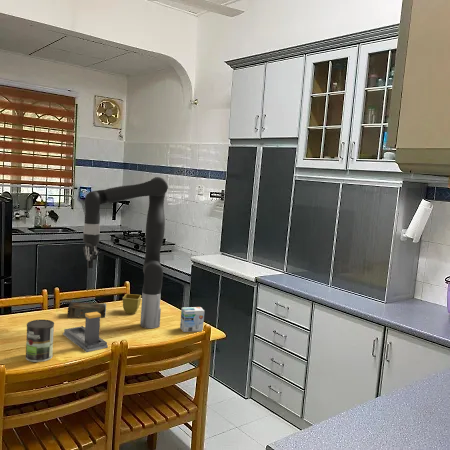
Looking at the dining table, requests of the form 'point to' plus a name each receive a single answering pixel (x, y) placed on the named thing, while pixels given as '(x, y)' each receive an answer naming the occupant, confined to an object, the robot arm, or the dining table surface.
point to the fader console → (83, 339)
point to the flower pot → (131, 303)
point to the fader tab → (92, 327)
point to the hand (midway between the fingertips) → (89, 267)
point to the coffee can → (39, 340)
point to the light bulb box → (192, 319)
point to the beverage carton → (85, 309)
